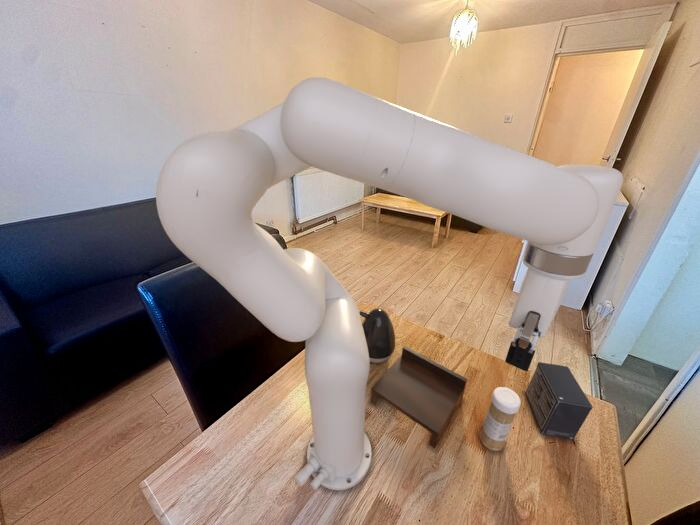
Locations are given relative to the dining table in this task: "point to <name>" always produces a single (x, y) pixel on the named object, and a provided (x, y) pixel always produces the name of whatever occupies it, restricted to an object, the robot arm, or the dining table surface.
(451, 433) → the dining table surface
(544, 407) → the small box
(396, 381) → the shelf
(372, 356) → the pump dispenser
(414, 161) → the robot arm
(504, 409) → the sprinkles bottle
